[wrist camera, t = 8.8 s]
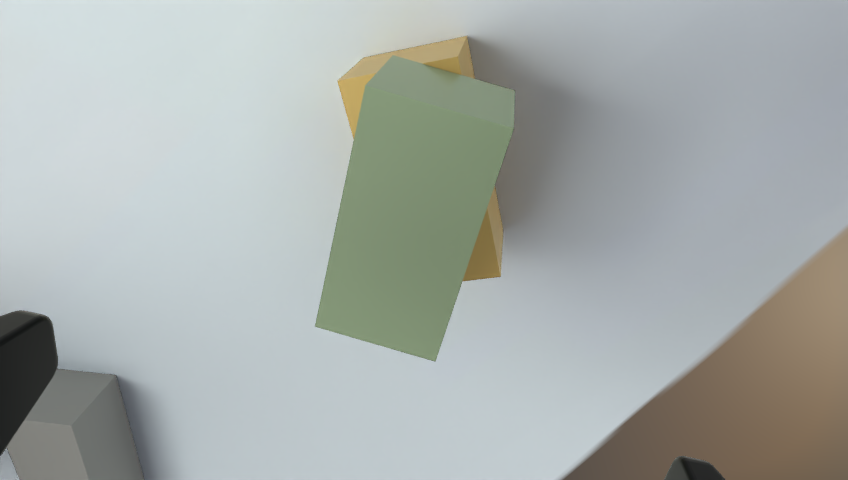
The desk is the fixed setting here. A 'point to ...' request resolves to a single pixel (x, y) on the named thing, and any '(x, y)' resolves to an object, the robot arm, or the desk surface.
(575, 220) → the desk surface
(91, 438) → the slate brick
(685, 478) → the robot arm
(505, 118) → the sage brick
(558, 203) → the desk surface
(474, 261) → the ochre brick
